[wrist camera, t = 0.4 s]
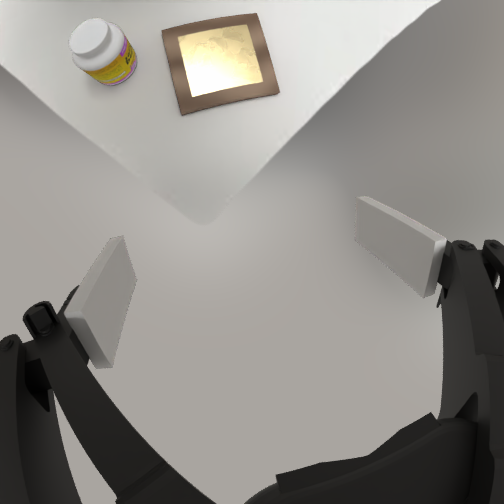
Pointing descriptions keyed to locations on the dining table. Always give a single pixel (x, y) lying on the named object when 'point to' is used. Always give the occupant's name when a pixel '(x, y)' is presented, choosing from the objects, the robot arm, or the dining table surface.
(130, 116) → the dining table surface
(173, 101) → the dining table surface
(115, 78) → the supplement bottle
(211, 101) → the walnut plinth
